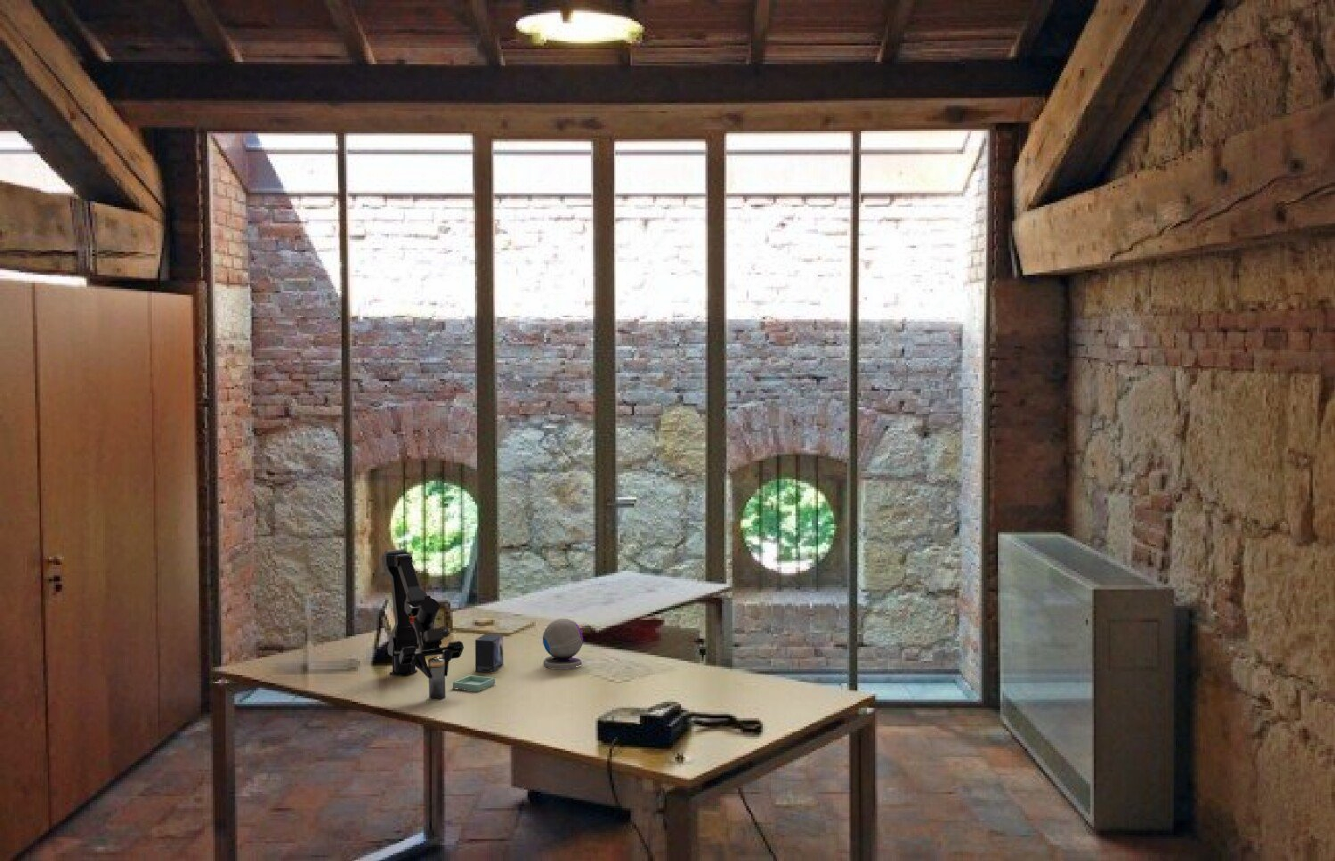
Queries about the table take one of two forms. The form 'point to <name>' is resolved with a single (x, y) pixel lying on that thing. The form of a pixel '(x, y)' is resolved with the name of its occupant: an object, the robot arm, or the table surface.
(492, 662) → the small box
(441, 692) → the lidded jar
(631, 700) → the table surface
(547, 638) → the webcam
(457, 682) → the tray
